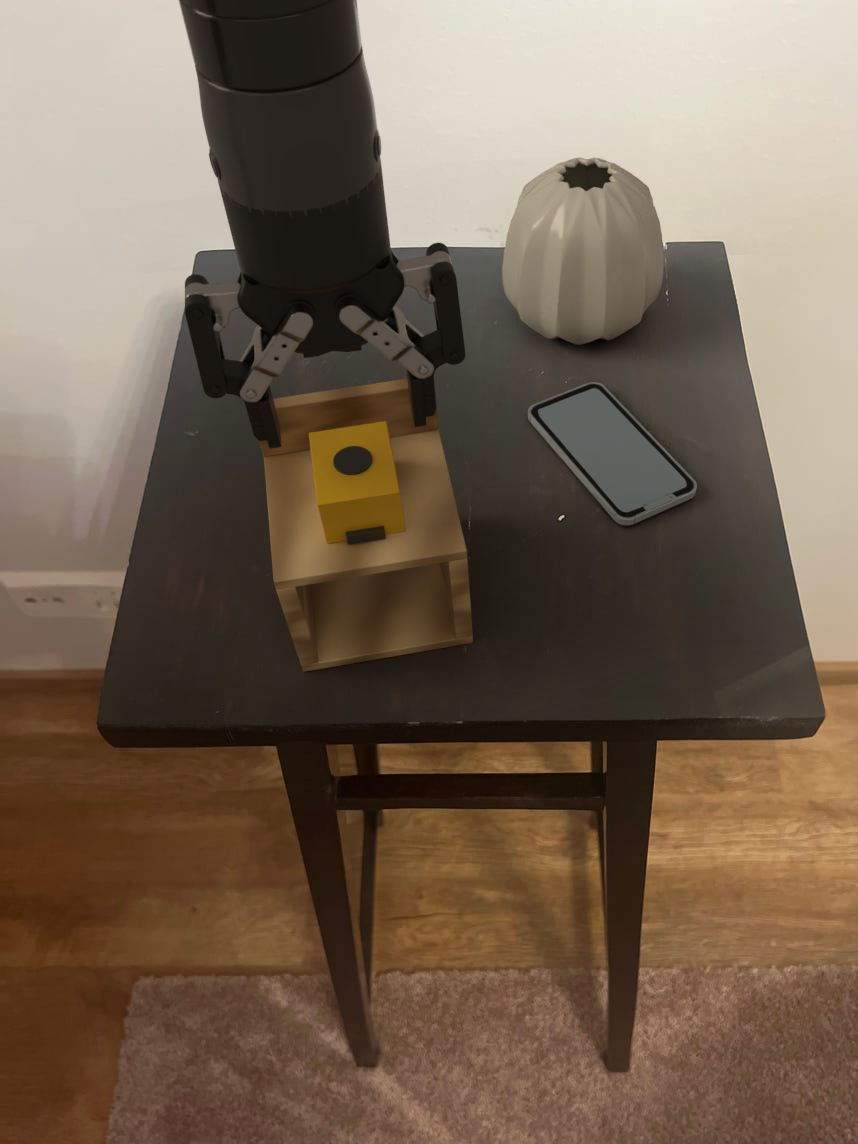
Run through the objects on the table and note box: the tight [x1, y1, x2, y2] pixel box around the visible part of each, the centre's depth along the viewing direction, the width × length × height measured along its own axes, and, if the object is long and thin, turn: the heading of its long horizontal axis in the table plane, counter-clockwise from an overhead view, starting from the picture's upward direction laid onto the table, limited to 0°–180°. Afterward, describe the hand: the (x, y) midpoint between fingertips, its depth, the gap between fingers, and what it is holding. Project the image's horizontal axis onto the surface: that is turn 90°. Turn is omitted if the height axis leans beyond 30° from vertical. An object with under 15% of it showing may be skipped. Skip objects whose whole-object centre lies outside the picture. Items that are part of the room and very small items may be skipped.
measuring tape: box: [309, 421, 405, 545], centre depth 61 cm, size 5×7×4 cm
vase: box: [501, 157, 665, 346], centre depth 84 cm, size 14×14×13 cm
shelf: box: [258, 378, 474, 673], centre depth 66 cm, size 12×12×14 cm
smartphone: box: [527, 381, 698, 526], centre depth 78 cm, size 7×1×15 cm
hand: (346, 428), depth 58 cm, fingers open, 8 cm apart
